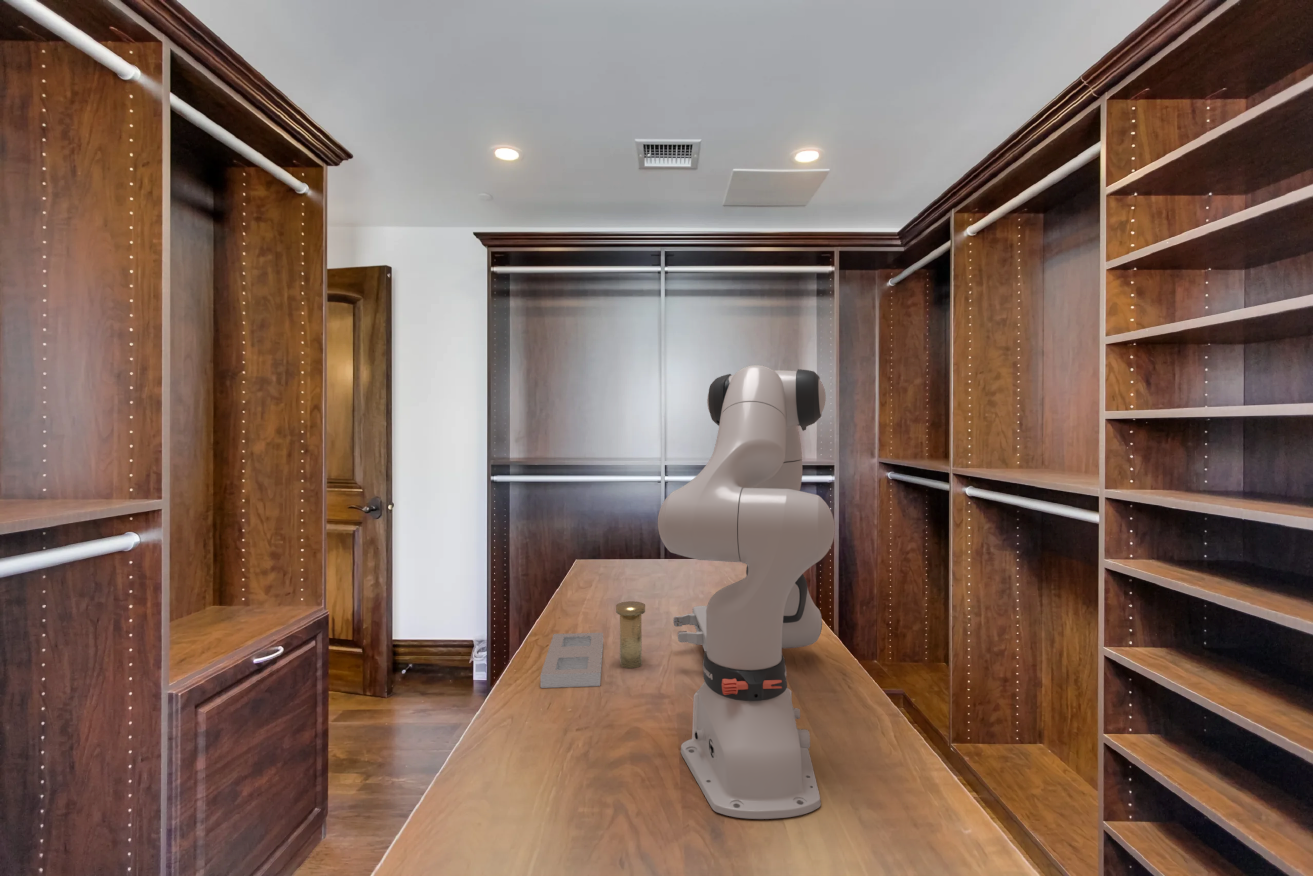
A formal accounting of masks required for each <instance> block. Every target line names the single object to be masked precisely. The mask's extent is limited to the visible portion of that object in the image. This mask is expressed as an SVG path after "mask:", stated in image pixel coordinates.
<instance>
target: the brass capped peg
mask: <svg viewBox="0 0 1313 876" xmlns="http://www.w3.org/2000/svg"><path fill="white" fill-rule="evenodd" d="M615 612H616V614H617V615H619V660H620V661H619V663H620V667H623V668H625V669H636V668H639V667H641V666H642V665H643V664H642V662H643V660H642V659H643V656H642V655H643V653H642V652H643V651H642V647H643V646H642V645H643V644H642V642H643V641H642V636H643V635H642V615H643V614H645V613H646V604H645V603H644V602H640V601H623V602H622V601H621V602H619V603H617V604H616V605H615Z"/></svg>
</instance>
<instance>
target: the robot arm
mask: <svg viewBox="0 0 1313 876" xmlns="http://www.w3.org/2000/svg"><path fill="white" fill-rule="evenodd" d="M825 390H826V389H825V386H824V384H823V383H822V381H821V377H820V376H819V375H818V374H817V373H816V372H815V371H814V370H809V369H800V368H797V370H787V369H786V370H783V369H781V370H778V369H776V370H773V369H772V368H770V367H768V366H765V365H761V364H754V365H753V364H752V365H748V366H747V365H746V366H744V367H743V368H740V369H739V370H737V371H736V372H735V373H734V374H731V373H728V374H724V375H721V376H718V377H716V378H715V379H714V380H713V381H712V383H711V384H710V385H709V389H708V393H707V399H706V400H707V401H706V403H707V409H708V412H709V414H710V418H711V420H712V422H714V423H715V424H716V425H717V426H718V430H717V435H716V439H715V440H716V441H715V444H714V445H715V446H714V449H713V452H712V454H711V457H710V459H709V460H708V462H707V463H706V465H705V466H704V467H703V468H702V469H701V471H700V472H699V473H698V474H696V476H695V477H694V478H693V479H691V480H690V481H689V482H687V483H686V484H685V485H683V486H681V487H680V488H677V489H675V490H674V491H673V490H672V492H670V493H669V494H668V495H667V497H666V498H665V499H664V500H663V502H662V504H661V506H660V508H659V511H658V516H657V531H658V534H659V537H660V539H661V542H662V543H663V545H664V547H665V548H666V549H667V551H669V552H670V553H672V554H676V555H678V556H682V557H685V558H690V559H693V560H697V561H708V562H710V561H712V562H726V563H727V562H728V563H729V562H730V563H742V564H745V565H746V569H745V573H746V575H745V577H744V578H742V579H739V580H738V581H736V582H733V583H730V584H729V585H726V586H724V587H722V588H720V589H719V590H717V591H716V592H715V593H713V595H712V596H711V597H710V598H709V601H708V603H707V605H696V606H693V607H692V613H687V614H683V615H675V616H673V619H672V620H673V622H672V623H673V626H674V627H676V628H677V627H678V628H679V627H680V628H681V627H683V626H687V625H689V626H694V628H695V630H696V632H692V631H690V632H689V631H687V630H679V631H678V632H677V640H678V642H679V643H688V644H693V645H696V646H699V645H700V646H701V645H702V649H703V651H704V653H703V661H702V670H703V676H702V677H703V683H702V685H701V686H700V687H699V689H698V690H697V691H696V692H695V693H694V694H693V706H692V729H691V730H692V733H691V734H692V735H691V738H690V739H688V740H685V741H684V742H683V743H682V744H681V746H680V753H681V756H682V758H683V759H684V761H685V764H686V765H687V767H688V769H689V770H690V772H691V774H692V776H693V778H694V780H695V782H697V784H698V786H699V788H700V790H701V792H702V794H703V795H704V796H705V799H706V800H707V802H708V804H709V805H710V808H711V809H712V810H713V811H714V812H716V813H718V814H721V815H724V816H727V817H728V816H729V817H733V818H740V819H750V820H751V819H753V820H764V819H765V820H769V819H771V820H773V819H783V818H791V817H798V816H802V815H805V814H808V813H811V812H814V811H815V810H817V809H819V808H820V807H821V805H822V804H821V803H822V802H821V795H820V792H819V788H818V787H819V786H818V783H817V779H816V775H815V770H814V766H813V762H812V758H811V754H810V751H809V749H810V748H811V737H810V736H811V735H810V731H809V730H808V729H805V728H804V729H803V728H798V726H797V721H796V720H800V719H801V709H800V708H797V707H794V706H793V702H792V694H793V693H792V690H791V689H790V688H788V681H787V674H788V673H787V666H786V661H785V656H784V655H783V651H782V650H783V649H796V648H803V647H808V646H810V645H811V646H812V645H813V644H816V643H817V641H818V640H819V638H820V636H821V633H822V629H823V620H822V619H823V617H822V613H821V610H820V609H819V608H818V607H817V606H816V604H815V603H814V600H813V599H812V597H811V593H810V592H809V588H808V582H807V579H806V577H805V575H804V574H805V572H806V571H807V570H809V569H810V568H811V567H812V566H814V565H815V564H817V563H818V562H820V561H821V560H822V559H823V558H825V556H826V555H827V554H828V552H829V551H830V549H831V547H832V545H833V543H834V539H835V533H836V532H835V531H836V530H835V529H836V528H835V527H836V525H835V519H834V515H833V513H832V510H831V509H830V507H829V505H828V504H827V502H826V501H825V500H824V499H823V498H822V497H821V496H820V495H819V494H816V493H815V494H814V493H812V492H811V493H810V492H806V491H801V486H802V481H803V480H802V479H803V456H802V455H803V454H802V443H801V437H800V431H799V428H798V427H799V426H800V428H801V430H802V432H804V431H807V427H808V426H812V425H813V424H815V423H817V421H819V420H820V419H821V417H822V413H823V412H824V409H825V406H826V401H827V400H826V399H827V398H826V391H825Z"/></svg>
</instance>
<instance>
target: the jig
mask: <svg viewBox="0 0 1313 876" xmlns="http://www.w3.org/2000/svg"><path fill="white" fill-rule="evenodd" d="M603 648H604V632H583V633H582V632H581V633H579V632H577V633H572V632H571V633H553V635H552V638H551V641H550V644H549V647H548V650H547V654H546V656H545V660H544V663H543V665H542V669H541V673H540V689H551V688H555V689H557V688H577V687H579V688H583V687H586V688H587V687H600V686H601V677H602V676H601V675H602V663H603Z"/></svg>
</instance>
